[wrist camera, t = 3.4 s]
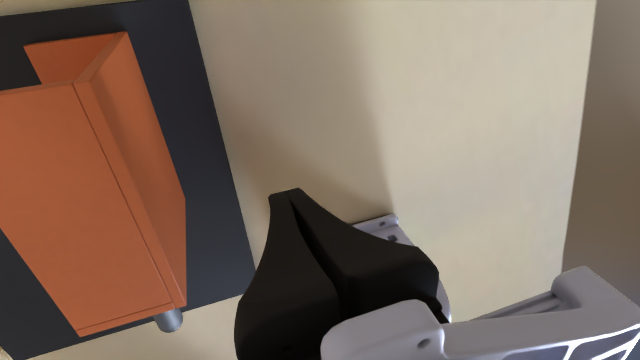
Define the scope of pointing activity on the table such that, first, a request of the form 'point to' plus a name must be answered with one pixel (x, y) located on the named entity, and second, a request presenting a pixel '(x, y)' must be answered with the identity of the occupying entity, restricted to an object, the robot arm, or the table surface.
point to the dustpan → (93, 186)
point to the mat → (183, 145)
